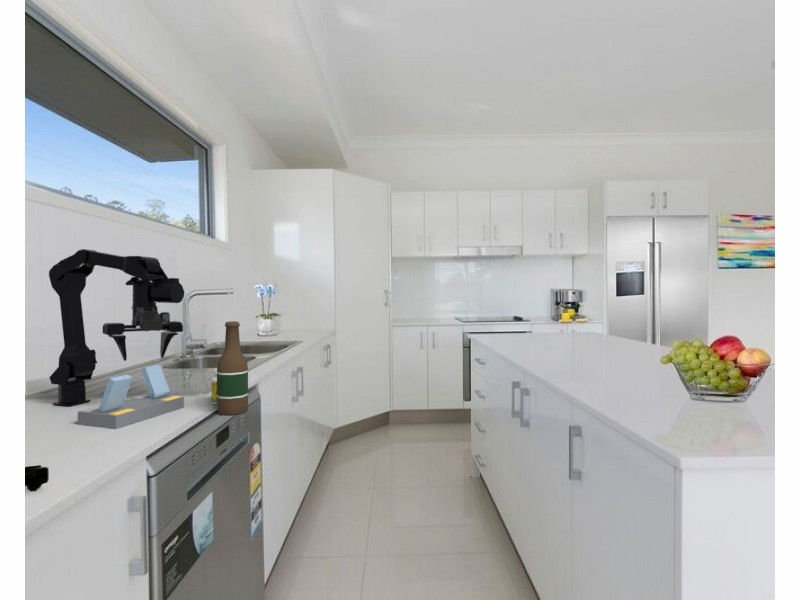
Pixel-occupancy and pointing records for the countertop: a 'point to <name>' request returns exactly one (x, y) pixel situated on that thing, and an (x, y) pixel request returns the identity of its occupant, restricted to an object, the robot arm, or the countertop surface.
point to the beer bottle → (232, 375)
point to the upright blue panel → (115, 392)
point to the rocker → (155, 381)
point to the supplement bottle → (214, 388)
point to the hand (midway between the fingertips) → (144, 359)
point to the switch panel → (130, 411)
